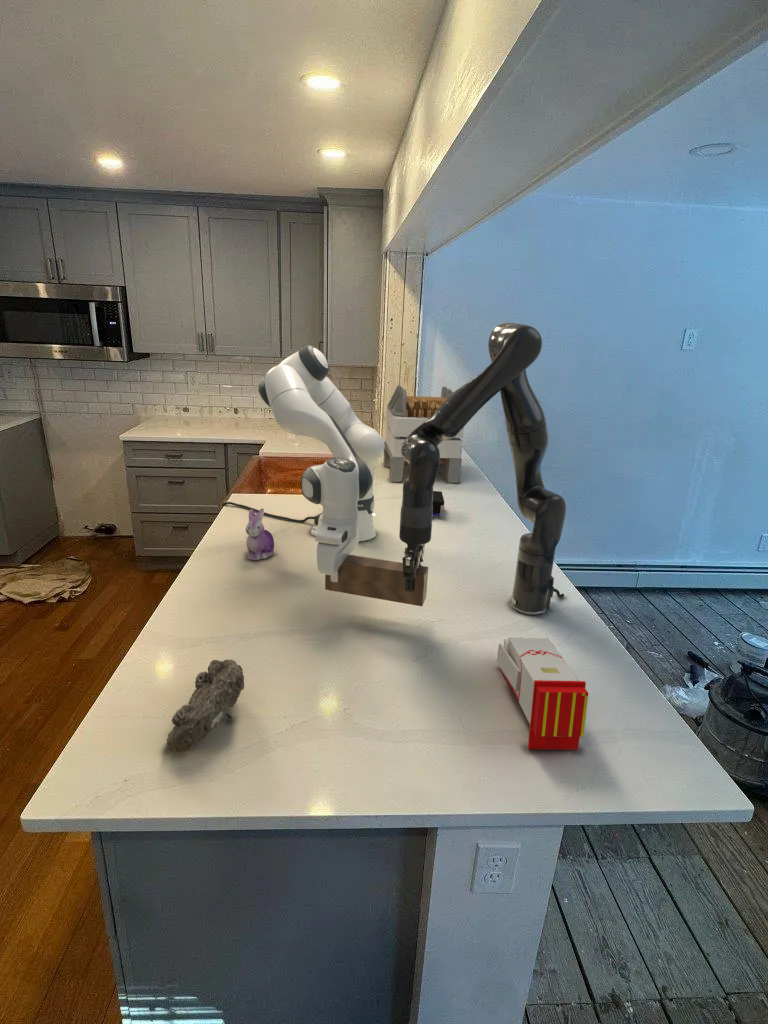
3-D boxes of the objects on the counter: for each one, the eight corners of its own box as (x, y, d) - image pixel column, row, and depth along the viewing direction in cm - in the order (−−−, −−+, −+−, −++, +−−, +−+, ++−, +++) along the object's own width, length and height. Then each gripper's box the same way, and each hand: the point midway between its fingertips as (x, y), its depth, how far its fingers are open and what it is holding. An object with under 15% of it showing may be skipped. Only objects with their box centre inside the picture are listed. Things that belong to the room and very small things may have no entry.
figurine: (249, 563, 172) (248, 517, 167) (241, 550, 180) (239, 506, 175) (280, 558, 176) (279, 513, 171) (270, 546, 184) (269, 502, 179)
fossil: (192, 660, 117) (244, 628, 112) (224, 691, 120) (276, 661, 115) (142, 746, 98) (202, 712, 93) (182, 779, 101) (242, 748, 96)
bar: (325, 589, 143) (325, 559, 140) (331, 581, 147) (331, 551, 144) (422, 606, 137) (424, 574, 134) (426, 597, 141) (428, 566, 138)
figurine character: (444, 523, 215) (440, 506, 228) (446, 505, 211) (442, 489, 225) (427, 523, 215) (424, 505, 228) (428, 505, 211) (425, 488, 225)
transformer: (382, 463, 289) (386, 382, 275) (445, 464, 293) (451, 384, 279) (390, 482, 257) (394, 392, 243) (460, 483, 261) (468, 394, 247)
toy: (545, 621, 128) (598, 688, 99) (540, 675, 131) (589, 757, 102) (492, 620, 128) (529, 687, 98) (488, 674, 131) (522, 756, 101)
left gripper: (342, 509, 149) (341, 557, 153) (312, 537, 130) (312, 591, 135) (365, 513, 147) (363, 561, 152) (337, 541, 129) (337, 595, 133)
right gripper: (425, 533, 125) (420, 602, 131) (437, 513, 138) (433, 576, 144) (392, 529, 127) (389, 596, 133) (407, 509, 140) (404, 571, 146)
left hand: (339, 575), depth 143 cm, fingers closed on bar, 5 cm apart
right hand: (412, 585), depth 139 cm, fingers closed on bar, 4 cm apart
